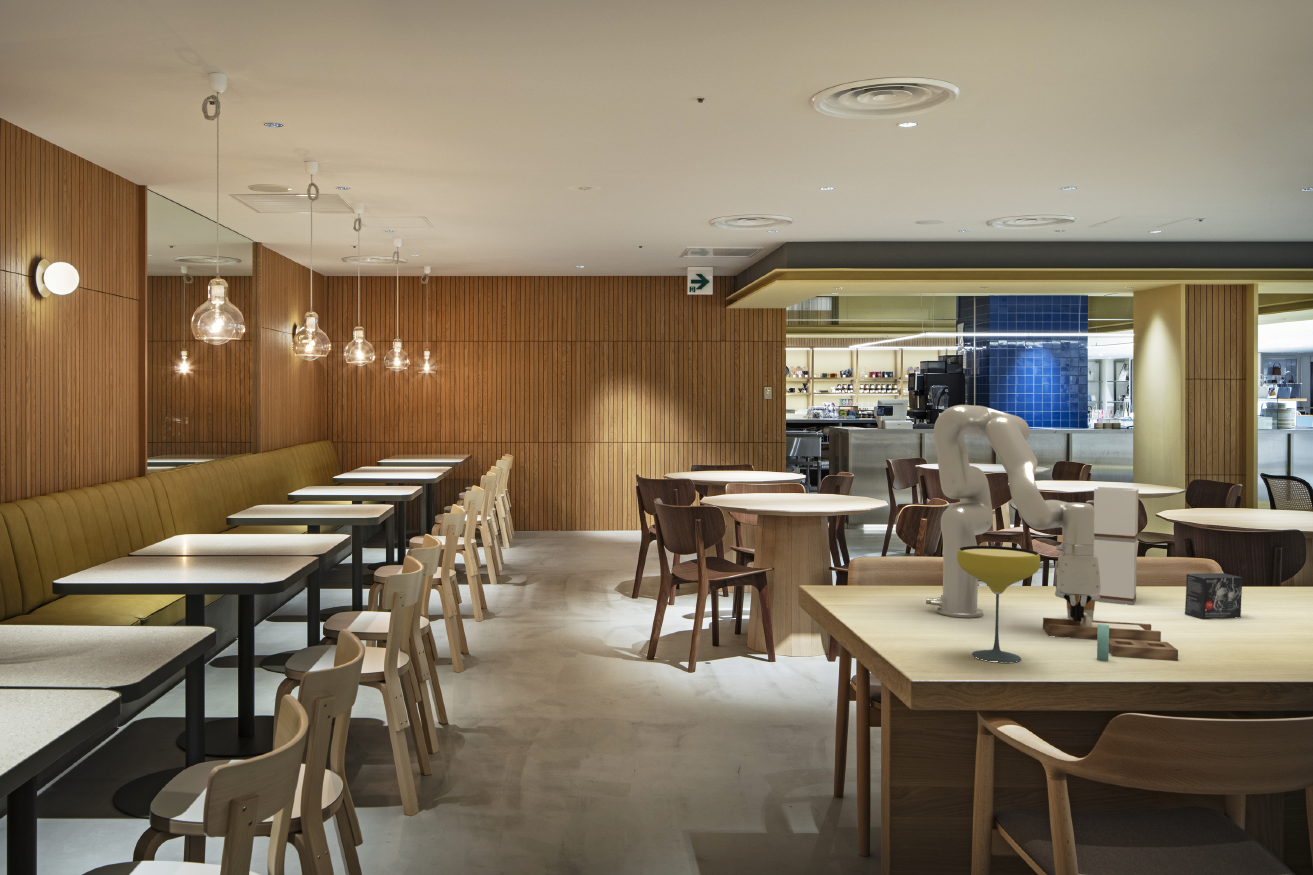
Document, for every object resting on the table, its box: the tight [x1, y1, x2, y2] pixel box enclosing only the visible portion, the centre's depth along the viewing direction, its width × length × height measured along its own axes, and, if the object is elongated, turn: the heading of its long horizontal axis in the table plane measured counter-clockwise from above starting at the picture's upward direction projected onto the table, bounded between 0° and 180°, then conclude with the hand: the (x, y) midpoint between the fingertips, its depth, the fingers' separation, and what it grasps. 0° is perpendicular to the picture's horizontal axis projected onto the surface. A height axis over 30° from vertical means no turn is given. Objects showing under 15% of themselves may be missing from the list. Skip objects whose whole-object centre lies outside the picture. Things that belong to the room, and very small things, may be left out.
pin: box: [1096, 624, 1110, 662], centre depth 207 cm, size 2×2×8 cm
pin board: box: [1109, 638, 1179, 661], centre depth 212 cm, size 14×8×2 cm, turn 76°
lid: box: [1080, 613, 1144, 630], centre depth 229 cm, size 14×6×3 cm, turn 76°
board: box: [1042, 617, 1162, 642], centre depth 230 cm, size 26×9×3 cm, turn 76°
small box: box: [1184, 572, 1243, 620], centre depth 256 cm, size 13×7×12 cm, turn 102°
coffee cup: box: [1065, 594, 1096, 621], centre depth 248 cm, size 8×8×15 cm
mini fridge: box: [1093, 486, 1139, 606], centre depth 277 cm, size 11×11×35 cm
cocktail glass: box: [957, 545, 1041, 663], centre depth 208 cm, size 18×18×25 cm
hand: (1076, 620), depth 231 cm, fingers closed
